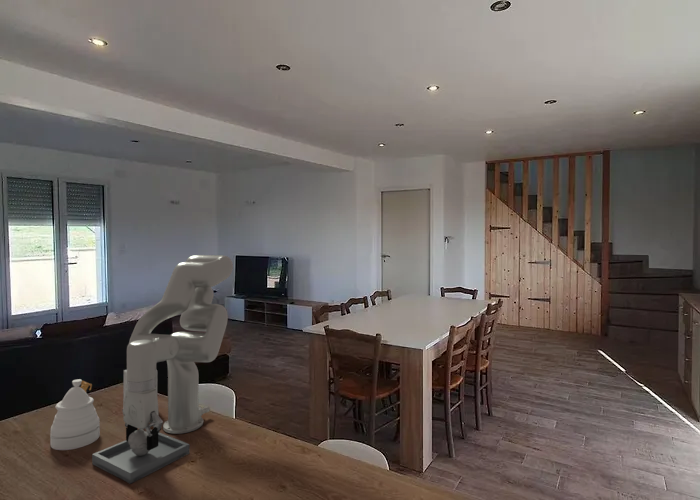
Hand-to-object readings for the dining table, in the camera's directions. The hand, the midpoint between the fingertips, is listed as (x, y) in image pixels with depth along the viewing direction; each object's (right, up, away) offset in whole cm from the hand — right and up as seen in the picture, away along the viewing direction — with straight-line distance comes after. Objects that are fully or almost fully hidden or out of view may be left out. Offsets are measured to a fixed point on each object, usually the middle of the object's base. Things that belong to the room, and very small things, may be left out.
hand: (142, 443), depth 120 cm
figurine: (-37, -4, +30) cm, 48 cm away
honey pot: (-26, -4, +11) cm, 29 cm away
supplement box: (-17, -4, +34) cm, 38 cm away
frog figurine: (0, -4, 0) cm, 4 cm away
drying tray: (0, -4, 0) cm, 4 cm away
